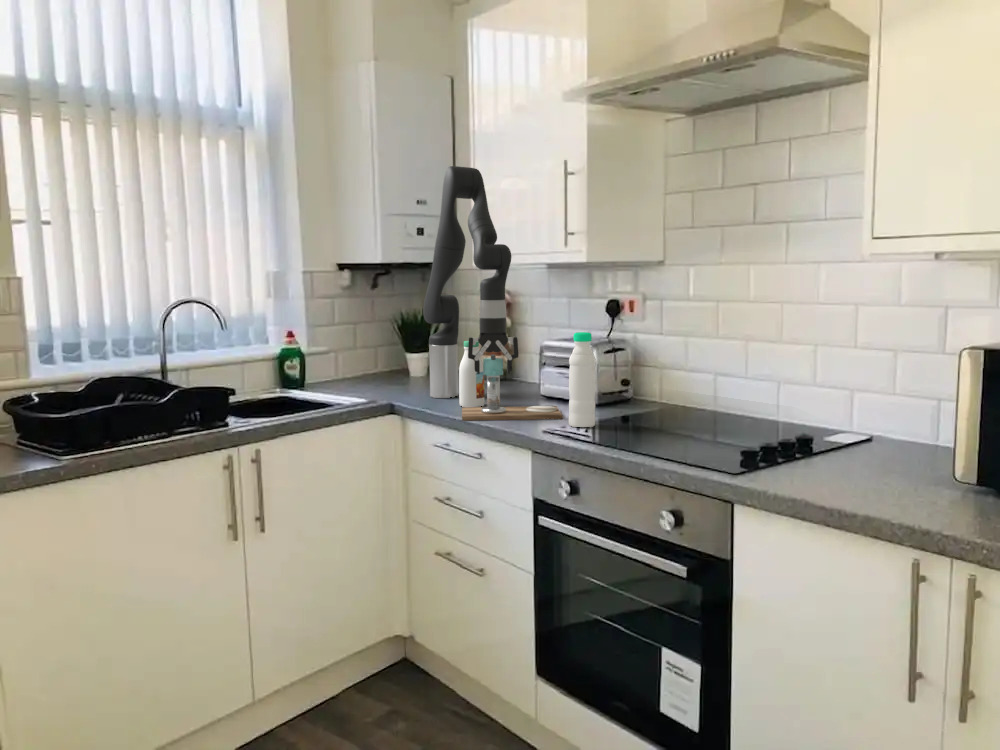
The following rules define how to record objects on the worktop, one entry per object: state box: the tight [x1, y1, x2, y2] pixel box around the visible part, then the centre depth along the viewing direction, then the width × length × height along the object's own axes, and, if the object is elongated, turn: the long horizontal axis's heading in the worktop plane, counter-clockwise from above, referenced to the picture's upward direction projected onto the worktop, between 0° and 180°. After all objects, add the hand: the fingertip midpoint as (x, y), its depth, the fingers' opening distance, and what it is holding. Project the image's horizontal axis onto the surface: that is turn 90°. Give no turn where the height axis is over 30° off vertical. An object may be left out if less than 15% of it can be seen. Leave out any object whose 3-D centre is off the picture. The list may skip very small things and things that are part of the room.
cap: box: [482, 354, 504, 377], centre depth 225 cm, size 7×6×5 cm
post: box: [481, 375, 506, 414], centre depth 226 cm, size 7×7×11 cm
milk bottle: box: [458, 340, 485, 408], centre depth 242 cm, size 8×8×20 cm
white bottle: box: [568, 331, 597, 428], centre depth 210 cm, size 7×7×25 cm
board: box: [461, 405, 563, 422], centre depth 228 cm, size 14×28×2 cm, turn 93°
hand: (493, 373), depth 225 cm, fingers open, 8 cm apart
